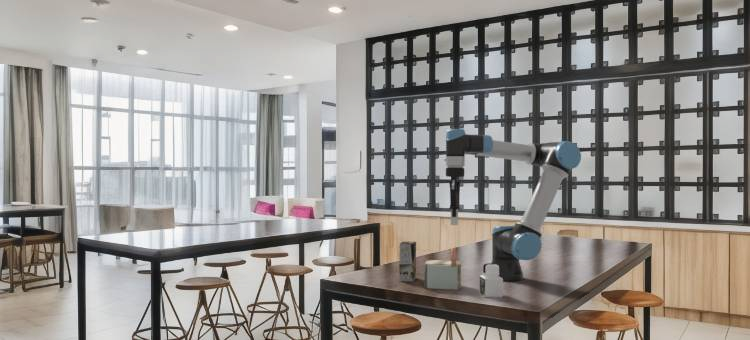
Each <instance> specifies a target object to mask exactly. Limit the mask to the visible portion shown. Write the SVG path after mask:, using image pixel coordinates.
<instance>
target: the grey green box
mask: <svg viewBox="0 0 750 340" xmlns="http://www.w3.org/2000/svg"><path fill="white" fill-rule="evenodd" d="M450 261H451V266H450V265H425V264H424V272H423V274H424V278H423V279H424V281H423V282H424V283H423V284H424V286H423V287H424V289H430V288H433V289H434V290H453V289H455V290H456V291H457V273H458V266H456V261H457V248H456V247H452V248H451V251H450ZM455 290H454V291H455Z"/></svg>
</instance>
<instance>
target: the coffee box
mask: <svg viewBox="0 0 750 340" xmlns="http://www.w3.org/2000/svg"><path fill="white" fill-rule="evenodd" d="M398 253H399V262H398V264H399V265H398V266H399V268H398V269H399V270H398V275H399V276H398V281H399V282H410V283H411V282H412V283H414V281H415V280H416V278H417V241H401V242H400V243H399V252H398Z"/></svg>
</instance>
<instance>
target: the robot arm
mask: <svg viewBox="0 0 750 340" xmlns="http://www.w3.org/2000/svg"><path fill="white" fill-rule="evenodd" d="M465 155H472V156H481V157H486V158H487V157H489V158H493V159H495V158H496V159H502V160H509V161H510V160H513V161H519V162H525V164H526V165H530V166H531V165H532V166H537V167H541V168H542V170H543V171H542V173H541V175H540V178H539V180H538V182H537V184H536V186H535V189H534V191H533V193H532V196H531V197H530V200H529V202H528V205H527V207H526V208H525V211H524V213H523V215H522V217H521V219H520V221H519V220H518V221H516V222H515V224H514V225H502V226H501V225H500V226H494V227H493V228H492V233H491V236H492V239H491V240H492V241H491V242H492V244H491V246H492V247H491V249H492V252H491V253H492V255H491V257H492V258H491V262H490V263H493V264H497V265H499V275H498V276H499V277H501V278H503V282H513V281H514V282H515V281H517V282H518V281H522V280H523V279H524V272H523V269H522V266H521V263H520V260H521V261H530V260H534V259H535V258H536V257H538V255H539V254H540V252H541V249H542V240H541V237H542V236H543V234H542V231H541V228H542V226H543V224H544V221H545V220H546V217H547V215H548V213H549V211H550V209H551V206H552V203H553V202H554V199H555V197H556V194H557V193H558V190H559V188H560V187H561V186H560V185H561V184H562V181H563V180H564V179H565V178H568V177H569V175H570V172H571V171H572V170H573V169H575V168H577V167H578V166H579V164H580V163H581V162H582V161H581V160H582V154H581V150H580V147H579V146H578V145H577V144H575V143H574V142H573V141H567V140H562V141H555V142H554V141H551V142H543V143H533V142H530V143H528V144H525V143H524V144H522V143H516V142H510V141H501V140H494V139H493V138H492V136H491V135H489V134H467V133H466V132H465V129H464V128H450V129H447V131H446V135H445V158H444V162H445V166H446V167H445V176H446V177H447V178H448V177H449V178H451V179H450V180H449V194H450V195H449V196H450V197H449V198H450V202H449V205H450V207H448V209H449V210H450V225H451V226H459V209H461V208H460V205H459V204H460V191H461V190H460V187H461V181H460V178H462V177H463V178H464V177H465V168H464V167H465V164H466V163H465V162H466V161H465V160H466V159H465V158H466V157H465Z"/></svg>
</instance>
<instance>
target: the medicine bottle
mask: <svg viewBox="0 0 750 340" xmlns="http://www.w3.org/2000/svg"><path fill="white" fill-rule="evenodd" d="M482 268H483V269H482V272H483V273H482V274H481V275H479V294H480V295H481V296H482V297H484V298H503V297H504V281H503V278H501V277H499V276H498V275H499V265H497V264H493V263H491V262H490V263H484V264H483V265H482Z"/></svg>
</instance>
